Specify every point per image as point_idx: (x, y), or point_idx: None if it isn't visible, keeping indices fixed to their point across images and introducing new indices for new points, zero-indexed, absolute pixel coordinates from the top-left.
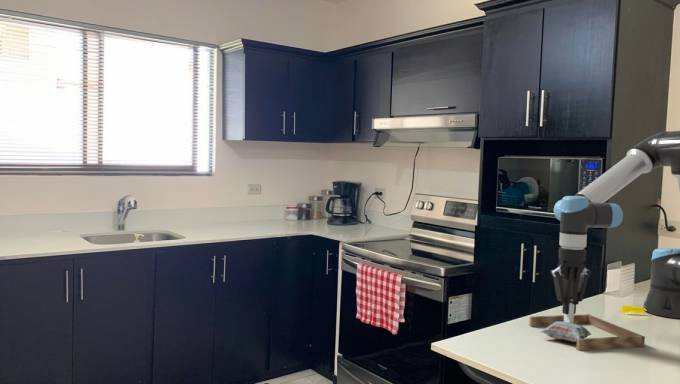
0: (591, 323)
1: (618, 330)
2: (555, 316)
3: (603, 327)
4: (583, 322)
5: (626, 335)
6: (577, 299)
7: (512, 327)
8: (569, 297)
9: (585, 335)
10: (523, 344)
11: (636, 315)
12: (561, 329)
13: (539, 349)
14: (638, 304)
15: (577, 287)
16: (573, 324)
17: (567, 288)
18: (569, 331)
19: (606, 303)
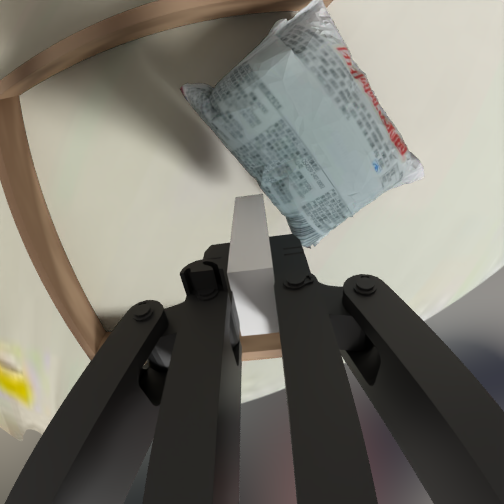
0: (94, 322)
1: (27, 206)
2: None
3: (65, 273)
4: None
5: (18, 160)
6: (183, 312)
7: (408, 300)
8: (294, 320)
9: (224, 76)
10: (488, 117)
11: (3, 361)
12: (377, 100)
13: (467, 53)
14: (10, 398)
15: (165, 441)
16: (293, 111)
17: (356, 418)
18: (349, 57)
19: (52, 417)
